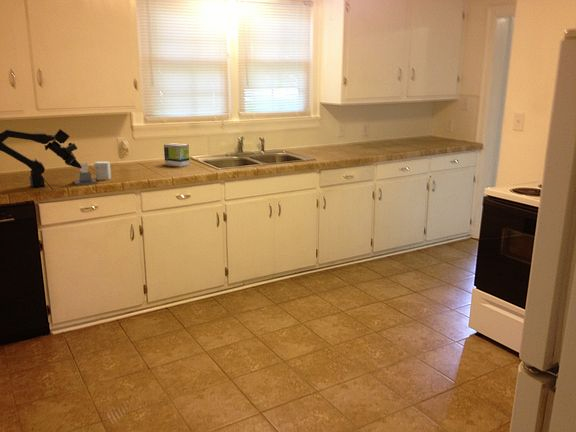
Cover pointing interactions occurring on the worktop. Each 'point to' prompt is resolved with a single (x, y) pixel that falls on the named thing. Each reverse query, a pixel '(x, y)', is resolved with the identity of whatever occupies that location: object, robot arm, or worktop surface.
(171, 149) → the tea box
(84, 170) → the white tall block
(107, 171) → the small box
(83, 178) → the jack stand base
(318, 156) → the worktop surface
